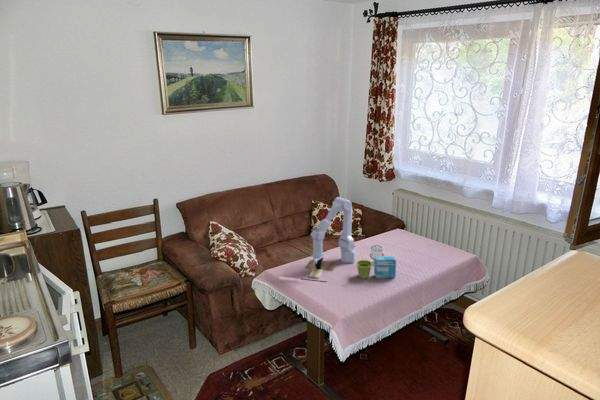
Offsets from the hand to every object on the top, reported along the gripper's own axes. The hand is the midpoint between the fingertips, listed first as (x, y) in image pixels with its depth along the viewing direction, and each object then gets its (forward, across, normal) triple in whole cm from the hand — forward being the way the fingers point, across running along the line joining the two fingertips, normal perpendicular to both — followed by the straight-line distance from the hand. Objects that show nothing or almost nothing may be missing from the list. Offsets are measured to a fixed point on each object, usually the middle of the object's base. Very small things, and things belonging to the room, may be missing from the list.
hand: (318, 269), depth 256 cm
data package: (+2, -4, +40) cm, 40 cm away
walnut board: (+2, -7, 0) cm, 7 cm away
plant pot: (+2, -1, +28) cm, 28 cm away
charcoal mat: (+2, +6, 0) cm, 6 cm away
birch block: (+2, +6, 0) cm, 6 cm away
